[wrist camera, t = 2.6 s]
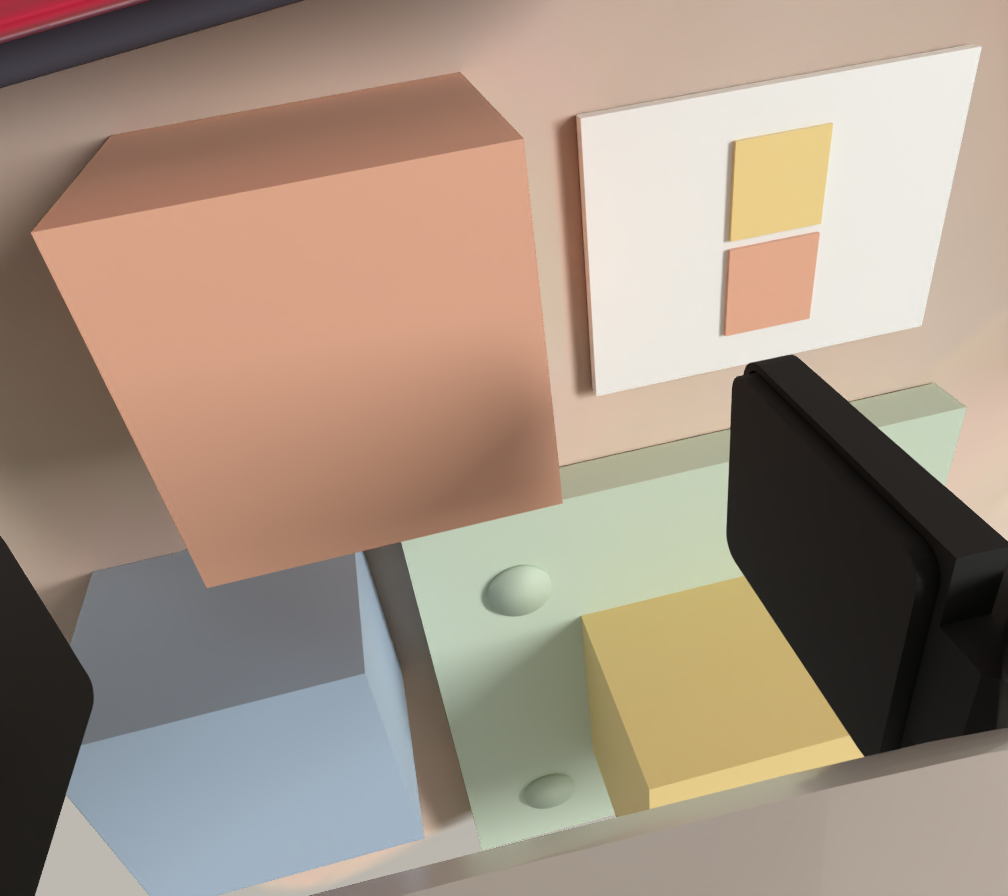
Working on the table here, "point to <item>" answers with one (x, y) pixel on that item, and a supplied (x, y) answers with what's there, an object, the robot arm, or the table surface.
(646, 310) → the tile
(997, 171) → the table surface
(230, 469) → the terracotta brick
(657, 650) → the ochre brick
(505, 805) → the build plate
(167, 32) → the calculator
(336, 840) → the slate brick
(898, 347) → the table surface
